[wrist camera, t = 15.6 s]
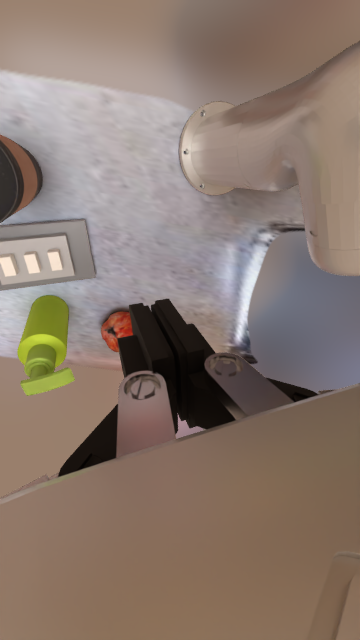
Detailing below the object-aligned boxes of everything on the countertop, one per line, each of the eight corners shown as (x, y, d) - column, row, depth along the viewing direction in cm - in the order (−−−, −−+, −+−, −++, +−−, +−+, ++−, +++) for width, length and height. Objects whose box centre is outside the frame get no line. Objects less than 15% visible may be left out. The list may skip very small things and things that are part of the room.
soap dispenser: (79, 319, 50) (80, 395, 33) (39, 329, 48) (19, 413, 31) (68, 290, 46) (64, 357, 30) (25, 299, 45) (-4, 376, 28)
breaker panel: (84, 218, 42) (85, 225, 37) (95, 273, 47) (97, 285, 42) (-35, 228, 38) (-51, 236, 33) (-11, 287, 42) (-22, 302, 38)
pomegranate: (141, 310, 55) (117, 297, 46) (158, 340, 53) (137, 333, 44) (113, 330, 56) (83, 321, 47) (128, 360, 54) (101, 358, 45)
